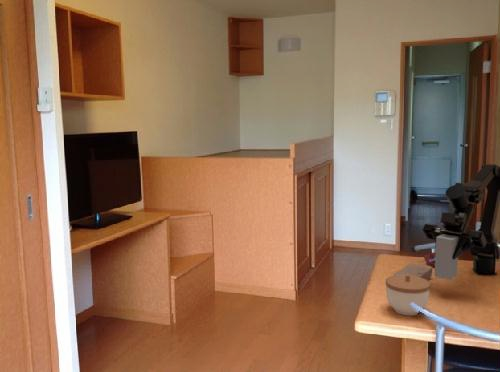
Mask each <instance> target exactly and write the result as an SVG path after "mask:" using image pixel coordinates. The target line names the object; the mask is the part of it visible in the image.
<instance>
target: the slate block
mask: <svg viewBox="0 0 500 372" xmlns="http://www.w3.org/2000/svg"><path fill="white" fill-rule="evenodd" d="M458 242H459V237H457V236H451V235H446V234H442V235H440V236H438V237H436V255H435V263H434V277H436V278H440V279H444V280H448V281H451V280H453V279H456V278H457V277H458V261H459V259H458V258H459V256H458V257H457V258H456V259H453V258H452V257H453V254H454V251H455V249H456V247H457V245H458Z"/></svg>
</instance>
